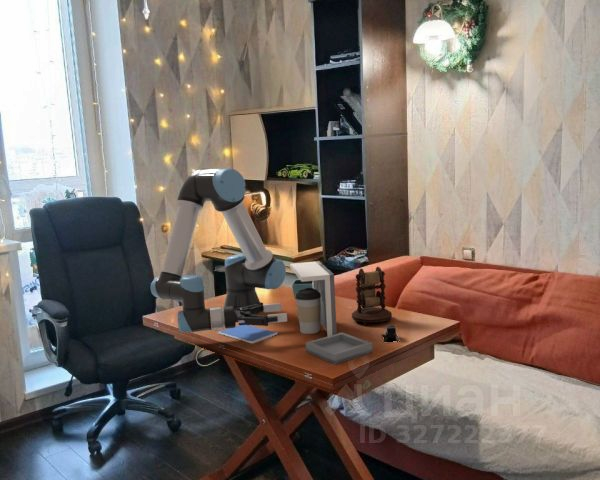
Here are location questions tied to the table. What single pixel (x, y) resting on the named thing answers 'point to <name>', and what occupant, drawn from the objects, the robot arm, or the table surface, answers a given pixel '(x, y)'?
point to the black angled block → (390, 334)
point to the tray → (338, 348)
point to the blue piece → (248, 333)
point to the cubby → (320, 290)
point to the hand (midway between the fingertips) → (284, 311)
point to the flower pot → (301, 286)
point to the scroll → (371, 297)
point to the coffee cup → (309, 310)
